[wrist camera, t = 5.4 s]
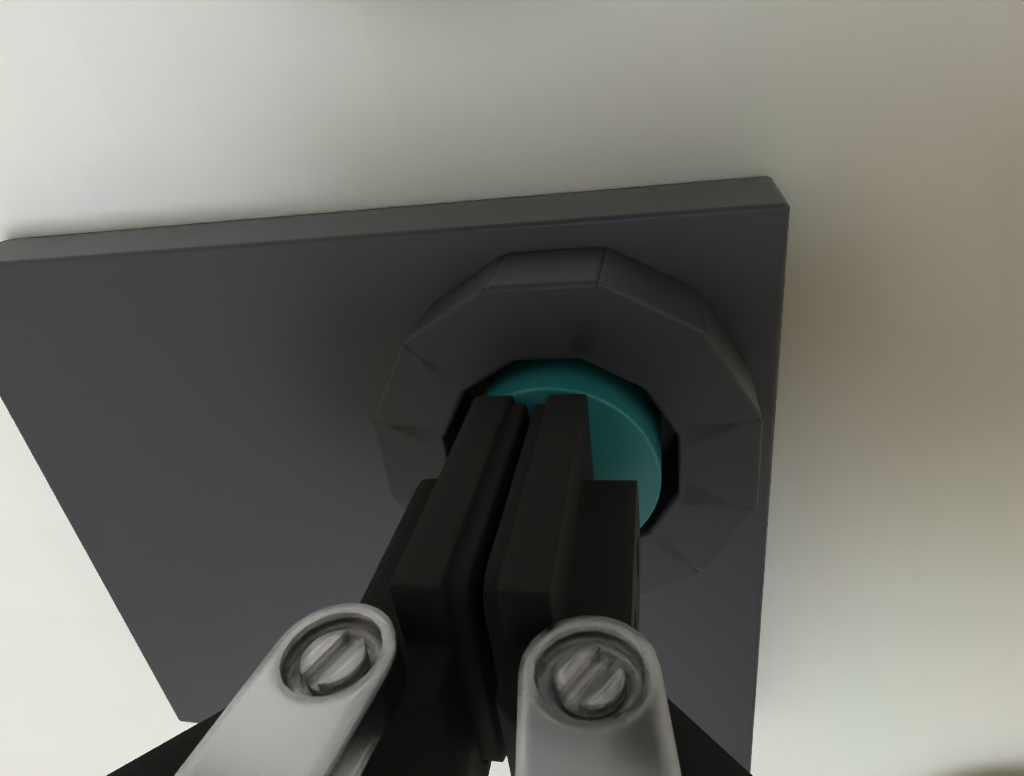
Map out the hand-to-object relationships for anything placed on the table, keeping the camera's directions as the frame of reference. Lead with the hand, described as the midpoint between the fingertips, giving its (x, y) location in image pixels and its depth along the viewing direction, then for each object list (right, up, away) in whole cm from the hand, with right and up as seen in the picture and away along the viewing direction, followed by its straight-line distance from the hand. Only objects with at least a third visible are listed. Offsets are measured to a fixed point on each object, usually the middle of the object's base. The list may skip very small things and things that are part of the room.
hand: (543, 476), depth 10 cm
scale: (-3, -1, +6) cm, 7 cm away
